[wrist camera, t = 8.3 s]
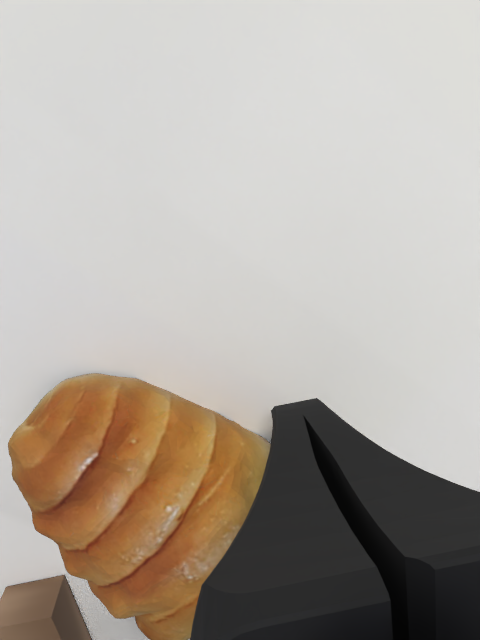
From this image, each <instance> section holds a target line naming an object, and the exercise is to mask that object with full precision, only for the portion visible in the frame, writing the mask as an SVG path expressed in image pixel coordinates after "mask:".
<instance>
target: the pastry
mask: <svg viewBox="0 0 480 640" xmlns="http://www.w3.org/2000/svg"><path fill="white" fill-rule="evenodd" d="M270 445H271V444H270V443H269V442H268V441H267V440H266V439H264V438H263V437H261V436H259V435H257V434H255V433H253V432H251V431H249V430H246V429H244V428H242V427H241V426H240V425H239V424H237V423H235V422H233V421H230V420H228V419H226V418H225V417H223V416H221V415H220V414H218V413H216V412H214V411H212V410H209V409H207V408H203V407H201V406H199V405H197V404H195V403H192V402H190V401H188V400H185V399H183V398H181V397H180V396H178V395H175V394H173V393H171V392H169V391H166V390H164V389H161V388H159V387H157V386H154V385H151V384H149V383H146V382H144V381H142V380H139V379H136V378H127V377H116V376H110V375H104V374H97V373H94V374H86V375H81V376H77V377H73V378H69V379H66V380H64V381H62V382H61V383H59V384H58V385H57V386H56V387H54V388H53V389H52V390H51V391H50V392H49V393H47V394H46V395H45V396H44V397H43V398H42V399H41V401H40V402H39V403H38V405H37V406H36V407H35V409H34V410H33V411H32V413H31V414H30V415H29V416H28V418H27V419H26V420H25V421H24V422H23V423H22V424H21V425H20V426H19V427H18V428H17V429H16V431H15V432H14V434H13V435H12V437H11V438H10V440H9V443H8V449H9V455H10V457H11V461H12V477H13V480H14V481H15V482H16V484H17V485H18V487H19V490H20V491H21V492H22V494H23V496H24V498H25V500H26V501H27V502H28V505H29V507H30V509H31V511H32V518H33V524H34V527H35V529H36V531H38V532H39V533H41V534H43V535H44V536H46V537H48V538H50V539H52V540H53V541H55V542H56V543H57V544H58V546H59V549H60V553H61V556H62V559H63V561H64V565H65V568H66V570H67V572H68V573H69V574H71V575H72V576H76V577H79V578H82V579H86V580H88V584H89V586H90V588H91V591H92V592H93V593H94V595H95V596H96V597H97V598H98V599H100V601H101V602H102V603H103V604H104V605H105V606H106V608H107V609H108V611H109V612H110V614H111V615H113V616H114V617H115V618H122V619H125V618H129V617H133V616H135V619H136V623H137V625H138V628H139V629H140V630H141V631H142V632H143V634H144V635H145V636H146V637H147V638H149V639H150V640H188V639H189V638H191V631H192V624H193V619H194V614H195V610H196V605H197V601H198V597H199V594H200V590H201V586H202V584H203V583H204V581H205V580H206V579H207V577H208V576H209V575H210V573H211V572H212V571H213V569H214V568H215V567H216V565H217V564H218V563H219V561H220V560H221V559H222V557H223V556H224V554H225V553H226V551H227V550H228V548H229V547H230V545H231V543H232V542H233V540H234V538H235V537H236V535H237V533H238V532H239V530H240V528H241V526H242V525H243V523H244V521H245V519H246V517H247V515H248V513H249V510H250V508H251V506H252V504H253V502H254V499H255V497H256V494H257V492H258V489H259V486H260V484H261V481H262V478H263V474H264V471H265V467H266V463H267V459H268V456H269V451H270Z"/></svg>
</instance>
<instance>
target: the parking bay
mask: <svg viewBox="0 0 480 640" xmlns="http://www.w3.org/2000/svg"><path fill="white" fill-rule="evenodd" d="M0 640H91V637H90V635H89V633H88V630H87V628H86V626H85V623H84V621H83V618H82V616H81V614H80V611H79V609H78V607H77V604H76V602H75V599H74V597H73V595H72V592H71V590H70V588H69V585H68V583H67V580H66V578H65V576H64V575H62V576H57V577H52V578H48V579H43V580H38V581H33V582H28V583H23V584H18V585H13V586H8V587H6V588H5V591H4V593H3V595H2V597H1V600H0Z"/></svg>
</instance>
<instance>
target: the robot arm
mask: <svg viewBox="0 0 480 640" xmlns="http://www.w3.org/2000/svg"><path fill="white" fill-rule="evenodd" d="M271 412H272V418H273V431H272V439H271V445H270V451H269V456H268V459H267V463H266V467H265V471H264V474H263V478H262V481H261V484H260V486H259V489H258V492H257V494H256V497H255V499H254V502H253V504H252V506H251V508H250V510H249V513H248V515H247V517H246V519H245V521H244V523H243V525H242V526H241V528H240V530H239V532H238V533H237V535H236V537H235V538H234V540H233V542H232V543H231V545H230V547H229V548H228V550H227V551H226V553H225V554H224V556H223V557H222V559H221V560H220V561H219V563H218V564H217V565H216V567H215V568H214V569H213V571H212V572H211V573H210V575H209V576H208V577H207V579H206V580H205V581H204V583H203V584H202V586H201V590H200V594H199V597H198V601H197V605H196V610H195V614H194V619H193V624H192V631H191V638H190V640H480V492H478V491H475V490H472V489H469V488H466V487H463V486H461V485H458V484H455V483H452V482H450V481H448V480H445V479H443V478H440V477H438V476H436V475H433V474H431V473H429V472H427V471H424V470H422V469H420V468H418V467H416V466H414V465H412V464H410V463H408V462H406V461H404V460H403V459H401V458H399V457H397V456H395V455H393V454H392V453H390V452H388V451H386V450H385V449H383V448H382V447H380V446H378V445H377V444H375V443H374V442H372V441H371V440H369V439H368V438H367V437H365V436H364V435H362V434H361V433H360V432H358V431H357V430H356V429H354V428H353V427H352V426H350V425H349V424H348V423H346V422H345V421H344V420H343V419H341V418H340V417H339V416H338V415H337V414H335V413H334V412H333V411H332V410H331V409H329V408H328V407H327V406H326V405H325V404H324V403H323V402H321V401H320V400H319V399H317V398H315V399H310V400H305V401H300V402H295V403H290V404H285V405H280V406H275V407H274V408H273V409H272V410H271Z"/></svg>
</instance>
